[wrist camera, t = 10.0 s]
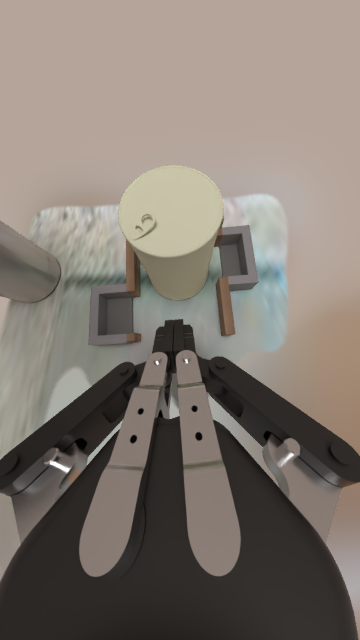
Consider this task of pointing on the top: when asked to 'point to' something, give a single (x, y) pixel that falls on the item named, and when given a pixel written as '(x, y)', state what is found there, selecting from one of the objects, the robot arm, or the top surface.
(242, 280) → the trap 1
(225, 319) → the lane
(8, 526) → the pill bottle
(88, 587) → the robot arm
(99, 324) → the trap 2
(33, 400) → the top surface
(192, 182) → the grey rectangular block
